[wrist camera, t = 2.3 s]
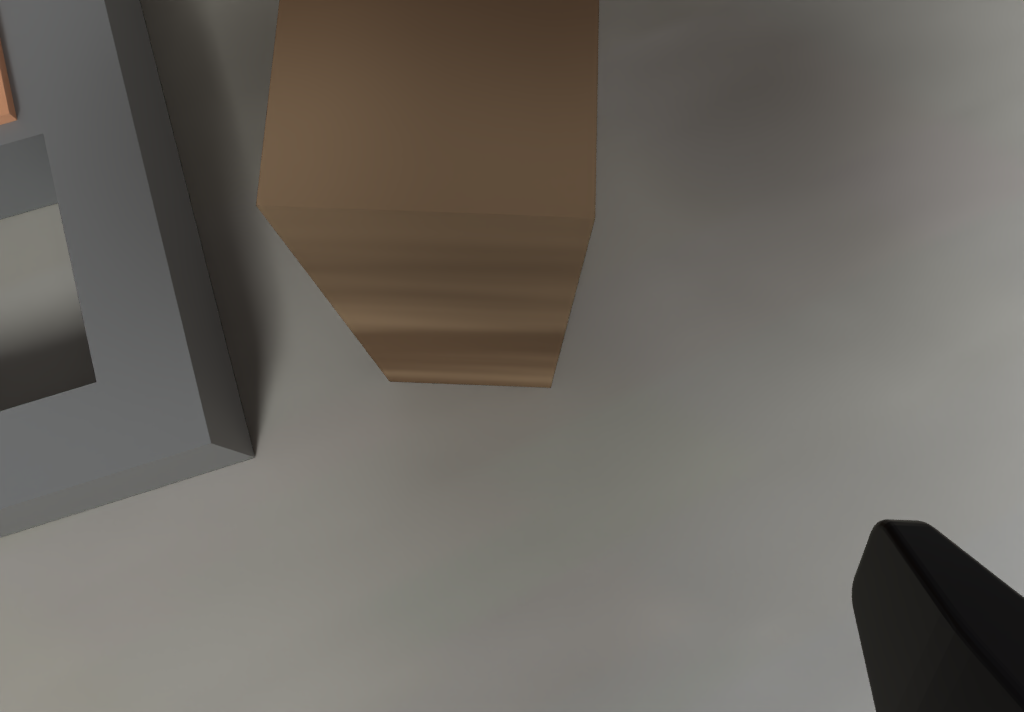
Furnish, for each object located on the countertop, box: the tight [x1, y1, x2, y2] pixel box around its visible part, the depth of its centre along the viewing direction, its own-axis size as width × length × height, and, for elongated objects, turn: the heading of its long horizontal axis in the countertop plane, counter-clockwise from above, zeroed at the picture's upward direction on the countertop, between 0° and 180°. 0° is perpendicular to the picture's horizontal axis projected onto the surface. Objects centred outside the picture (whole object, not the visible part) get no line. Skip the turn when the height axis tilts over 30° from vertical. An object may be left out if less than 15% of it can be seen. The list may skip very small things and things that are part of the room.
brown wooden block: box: [256, 0, 599, 388], centre depth 16 cm, size 4×4×11 cm
